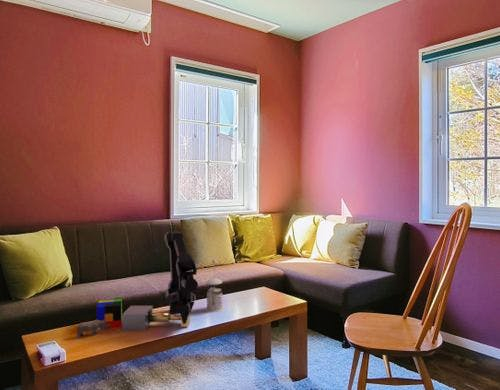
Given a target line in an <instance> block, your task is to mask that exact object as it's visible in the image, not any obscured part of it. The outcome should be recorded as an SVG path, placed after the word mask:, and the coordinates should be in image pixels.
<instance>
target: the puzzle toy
mask: <svg viewBox="0 0 500 390" xmlns="http://www.w3.org/2000/svg"><path fill="white" fill-rule="evenodd" d="M122 302H123V299H122V298H119V299H118V298H116V299H104V300H103V299H101V300H98V303H97V304H96V320H100V321H103V320H105V321H104V322H106V323H105V324H107V325H109V324H110V326H109V327H108V328H107V330H109V329H118V328H119V329H120V328H122V314H123V303H122ZM100 330H102V329H101V328H98V329H97V330H96V331H100Z"/></svg>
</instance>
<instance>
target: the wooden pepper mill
mask: <svg viewBox="0 0 500 390" xmlns="http://www.w3.org/2000/svg"><path fill="white" fill-rule="evenodd" d="M170 321H180V328H181V327H182V328H183V327H184V328H185V327H186V328H188V327H189V325H190V323H191V313H189V316H188V318H187V321H186V324H183V322H182V318H181V315H180V314H171V313H168V312H153V313H151V314H150V322H151V323H169V322H170Z"/></svg>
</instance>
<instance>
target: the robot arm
mask: <svg viewBox="0 0 500 390" xmlns="http://www.w3.org/2000/svg"><path fill="white" fill-rule="evenodd" d="M163 237H164V242H165V245H166V247H167V249H168V250H169V264H170V265H169V266H170V267H169V269H170V281H169V282H168V284H167V289H166V293H165V302H167V304H168V305H169V309H168V311H167V313H169V314H179V315H181V318H182V322H183V324H186V321H187V318H188V316H189V313H190V314H191V312H192V310H193V307H194V304H195V301H196V299H197V298H196V294H195V293H194V292H195V291H197V290H198V287H199V283H198V281H197V280H196V279H195V278H194V276H195V275H196V276H197V272H198V270H197V265H196V262H195V260H194V259H193V257H192V255H191V254H189V253H188V251H187V248H186V244H185V241H184V240H185V239H184V232H182V231H167V232H166V233H164V236H163Z"/></svg>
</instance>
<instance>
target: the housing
mask: <svg viewBox="0 0 500 390" xmlns="http://www.w3.org/2000/svg"><path fill="white" fill-rule="evenodd" d="M151 313H154V312H153V305H130V306H129V307H128V308H127V309H126V310H125V311H124V312H122V324H121V328H122V331H146V330H147V329H148V327H149V326H150V325H151V324H152V322H150V314H151Z"/></svg>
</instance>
